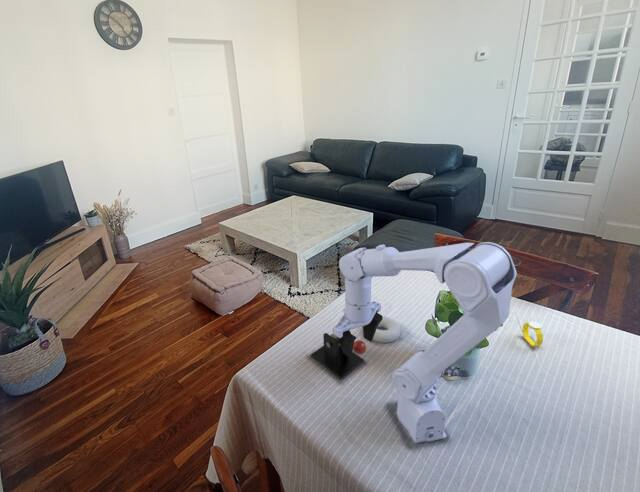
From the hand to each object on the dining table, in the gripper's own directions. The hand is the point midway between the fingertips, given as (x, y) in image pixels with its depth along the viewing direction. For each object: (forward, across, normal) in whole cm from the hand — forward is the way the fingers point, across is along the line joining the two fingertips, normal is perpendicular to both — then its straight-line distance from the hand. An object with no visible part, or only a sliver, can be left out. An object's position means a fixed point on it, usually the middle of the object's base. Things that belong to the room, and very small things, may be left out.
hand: (358, 346), depth 81 cm
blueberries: (+10, -18, +14) cm, 25 cm away
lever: (+3, 0, -3) cm, 4 cm away
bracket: (+9, 0, -7) cm, 12 cm away
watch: (+10, -43, +23) cm, 49 cm away
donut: (+10, -17, -6) cm, 21 cm away
